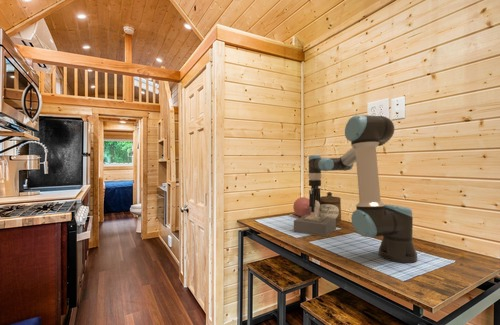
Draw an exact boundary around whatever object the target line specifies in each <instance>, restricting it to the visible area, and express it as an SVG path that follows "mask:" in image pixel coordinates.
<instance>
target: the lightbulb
mask: <svg viewBox="0 0 500 325" xmlns="http://www.w3.org/2000/svg"><path fill="white" fill-rule="evenodd" d="M319 207H320V203H319V202H318V201H317V200H315V218H316V217H317V213H318V209H319Z"/></svg>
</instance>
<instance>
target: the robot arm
mask: <svg viewBox="0 0 500 325" xmlns="http://www.w3.org/2000/svg"><path fill="white" fill-rule="evenodd" d="M394 134H395V124H394V122H393V121H392V120H391V119H390V118H389V117H387V116H383V115H368V114H367V115H366V114H358V115H353V116H352V117H350V118H349V119H348V120H347V123H346V124H345V127H344V136H345V138H346V140H347V141H349V142H351V143H350V145H351V148H350V149H349V150H348V151H345V153H344V154H343V155H341V156H340V157H322V156H321V155H320V154H313V155H312V154H311V155H309V156H308V174H307V175H308V186H310V187H311V188H310V189H309V190H308V195H309V196H308V199H309V207H311V214H310V215H311V217H314V218H315V200H317V201H318V202H319V203H321V202H320V197H321V188H320V187H321V186H322V180H321V179H322V171H323V172H329V171H331V172H332V171H350V170H352V169H353V167H354V164H355V163H356V174H357V186H358V198H359V199H358V200H359V202H358V203H357V204H356V209H355V210H354V211H352V214H351V216H350V218H351V223H352V224H351V225H352V227H353V229H354V230H355V231H356V233H357V234H358V235H360V236H361V237H365V238H374V237H382V240H381V243H380V245H379V248H378V255H379V256H380V257H381V258H384V259H385V260H388V261H391V262H396V263H404V264H408V263H410V264H411V263H416V262H417V261H418V252H417V251H416V247H415V245H414V242H413V218H414V217H413V210H412V209H411V208H409V207H407V206H401V205H394V204H386V203H385V204H384V203H383V202H382V201H381V200H382V199H381V190H380V180H379V179H380V178H379V167H378V156H377V155H378V154H377V147H381V146H383V145H385V144H386V143H387V142H389V141H390V140H391V139H392V138H393V135H394ZM320 205H321V204H320ZM317 216H319V209H318V213H317Z"/></svg>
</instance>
